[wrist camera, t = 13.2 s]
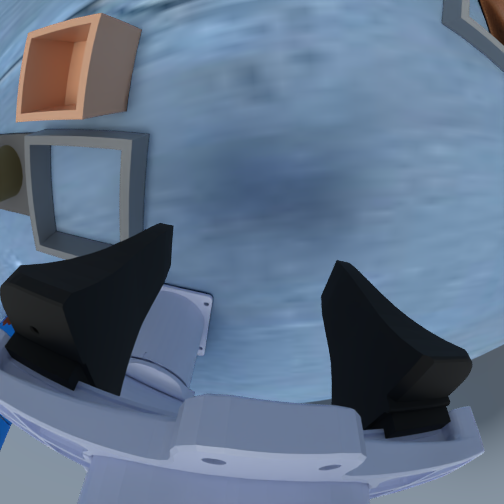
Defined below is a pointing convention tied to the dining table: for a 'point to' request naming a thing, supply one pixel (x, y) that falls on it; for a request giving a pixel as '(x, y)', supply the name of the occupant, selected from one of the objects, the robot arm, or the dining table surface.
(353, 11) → the dining table surface
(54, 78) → the terracotta pot
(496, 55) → the dark grey tray
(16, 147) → the dark grey rubber mat
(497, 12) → the sunglasses case
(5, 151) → the cork
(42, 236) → the grey rectangular frame
